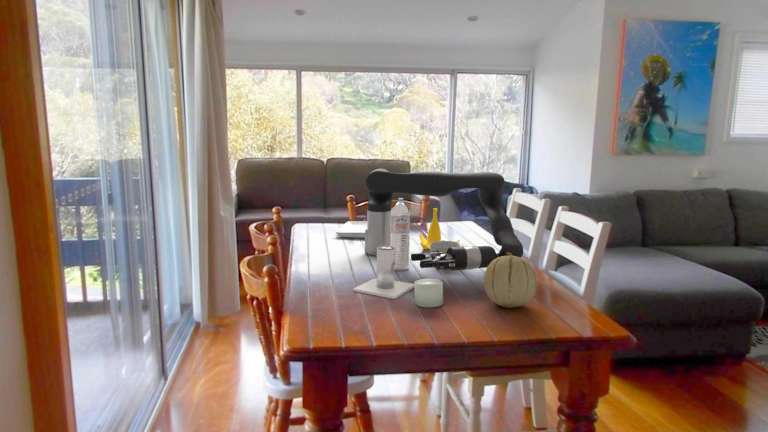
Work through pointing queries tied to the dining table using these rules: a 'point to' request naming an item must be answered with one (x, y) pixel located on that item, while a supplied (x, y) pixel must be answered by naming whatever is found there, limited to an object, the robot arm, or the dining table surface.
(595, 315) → the dining table surface
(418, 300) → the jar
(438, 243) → the teacup
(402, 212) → the water bottle
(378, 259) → the can
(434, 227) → the banana peel
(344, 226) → the square plate
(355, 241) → the dining table surface
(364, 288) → the tile
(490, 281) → the cantaloupe
